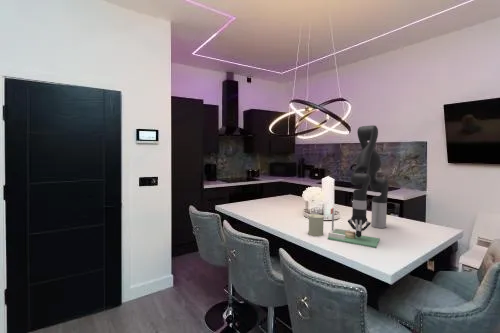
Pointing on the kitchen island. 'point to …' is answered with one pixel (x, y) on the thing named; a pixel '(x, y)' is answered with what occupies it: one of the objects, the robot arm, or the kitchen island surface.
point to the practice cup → (336, 230)
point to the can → (316, 225)
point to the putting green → (359, 241)
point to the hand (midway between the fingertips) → (358, 237)
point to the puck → (350, 234)
